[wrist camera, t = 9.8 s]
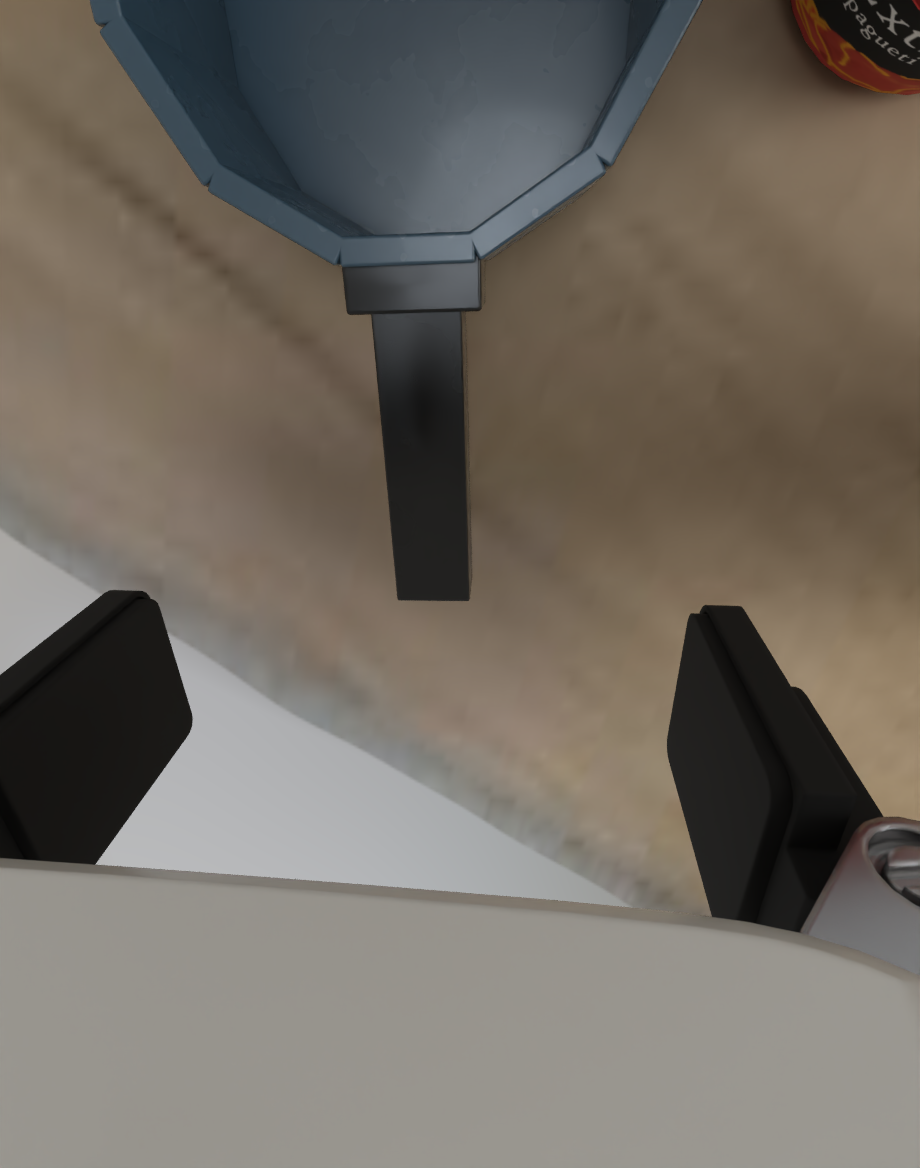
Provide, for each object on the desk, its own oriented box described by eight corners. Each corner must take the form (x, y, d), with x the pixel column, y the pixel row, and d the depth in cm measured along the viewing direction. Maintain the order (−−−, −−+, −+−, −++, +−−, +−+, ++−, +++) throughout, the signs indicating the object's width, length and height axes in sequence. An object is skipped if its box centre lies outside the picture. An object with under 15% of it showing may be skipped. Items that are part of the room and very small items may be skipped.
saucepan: (682, -368, 13) (812, -836, 7) (604, 532, 22) (634, 619, 17) (157, -307, 14) (-76, -681, 8) (299, 531, 23) (235, 614, 18)
